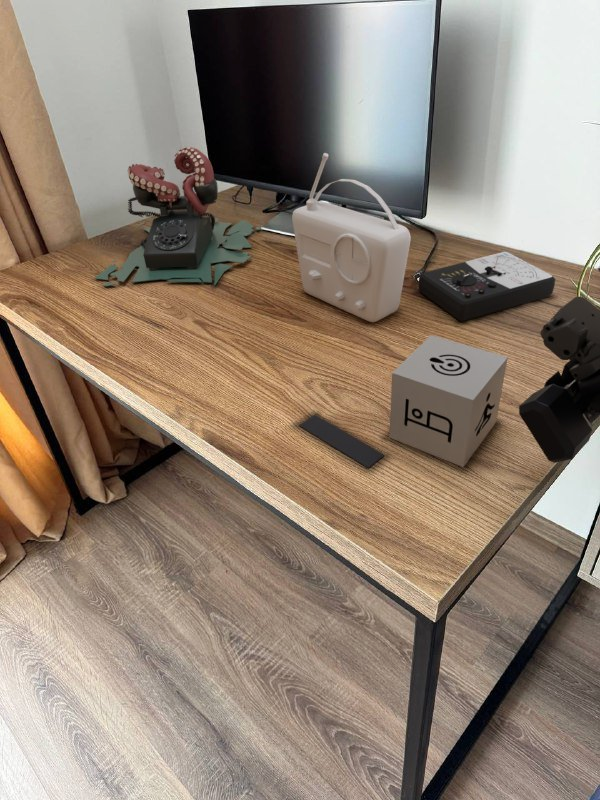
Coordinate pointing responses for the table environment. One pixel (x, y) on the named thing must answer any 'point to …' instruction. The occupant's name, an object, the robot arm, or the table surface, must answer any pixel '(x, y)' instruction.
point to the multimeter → (485, 285)
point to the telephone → (180, 226)
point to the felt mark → (342, 441)
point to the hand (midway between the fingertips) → (524, 411)
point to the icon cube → (446, 398)
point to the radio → (351, 255)
